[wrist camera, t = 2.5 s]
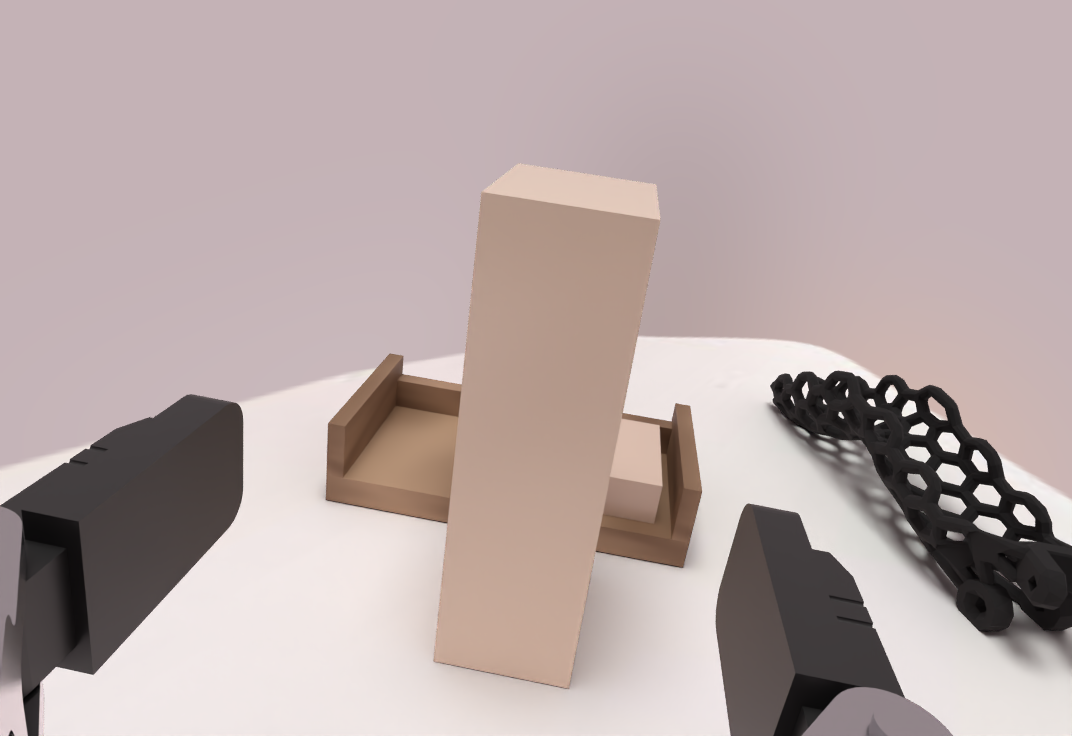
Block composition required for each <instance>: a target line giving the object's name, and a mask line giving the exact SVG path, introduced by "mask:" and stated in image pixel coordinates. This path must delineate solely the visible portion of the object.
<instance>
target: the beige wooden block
mask: <svg viewBox="0 0 1072 736" xmlns="http://www.w3.org/2000/svg"><path fill="white" fill-rule="evenodd" d="M659 224H660V213H659V205H658V196H657V187H656V184H650V183H643V182H637V181H630V180H623V179H617V178H610V177H604V176H598V175H591V174H585V173H578V172H571V171H565V170H558V169H551V168H545V167H539V166H532V165H526V164H517V165H516V166H515V167H513V168H512V169H511V170H509V171H508V172H507V173H506V174H504V175H503V176H502V177H500V178H499V179H498V180H496V181H495V182H494V183H493V184H491V185H490V186H489V187H487V188H486V189H485V190H484V191H482V193H481V204H480V212H479V222H478V232H477V242H476V253H475V261H474V271H473V281H472V291H471V300H470V311H469V320H468V330H467V339H466V349H465V359H464V369H463V378H462V388H461V398H460V408H459V417H458V427H457V437H456V447H455V456H454V466H453V476H452V486H451V495H450V505H449V515H448V525H447V535H446V544H445V554H444V564H443V574H442V583H441V593H440V603H439V613H438V622H437V632H436V642H435V652H434V661H435V662H440V663H445V664H450V665H455V666H460V667H465V668H470V669H474V670H479V671H484V672H489V673H494V674H499V675H504V676H509V677H514V678H519V679H524V680H529V681H534V682H538V683H543V684H548V685H553V686H558V687H563V688H568V689H569V685H570V679H571V674H572V669H573V664H574V659H575V654H576V649H577V644H578V639H579V633H580V628H581V623H582V618H583V613H584V608H585V603H586V598H587V592H588V587H589V582H590V577H591V572H592V567H593V562H594V557H595V552H596V546H597V541H598V536H599V531H600V526H601V521H602V516H603V511H604V506H605V500H606V495H607V490H608V485H609V480H610V475H611V470H612V465H613V460H614V454H615V449H616V444H617V439H618V434H619V429H620V424H621V419H622V414H623V408H624V403H625V398H626V393H627V388H628V383H629V378H630V373H631V368H632V362H633V357H634V352H635V347H636V342H637V337H638V332H639V326H640V322H641V316H642V311H643V306H644V301H645V296H646V290H647V286H648V281H649V276H650V270H651V265H652V260H653V255H654V250H655V244H656V240H657V234H658V229H659Z"/></svg>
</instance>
